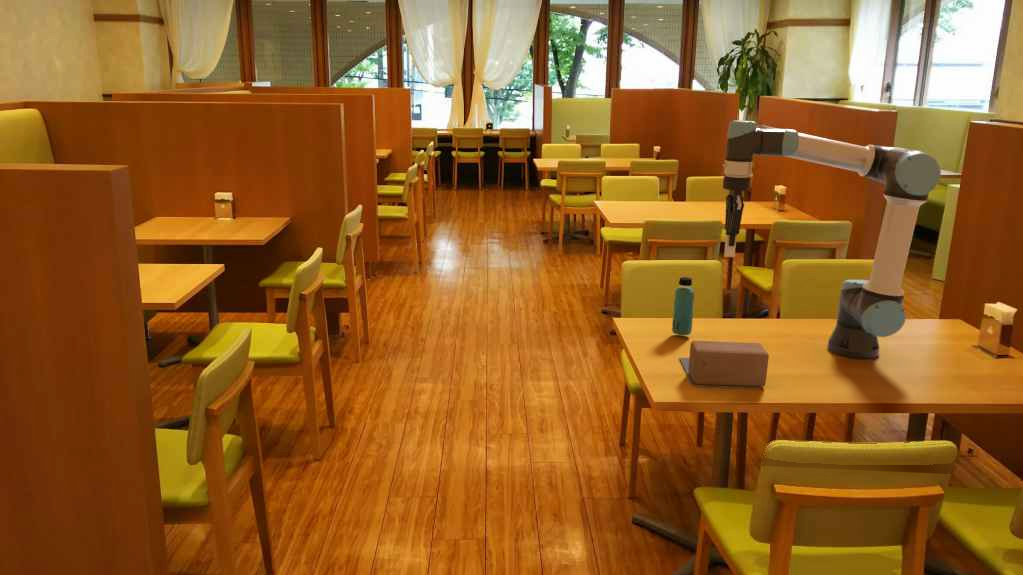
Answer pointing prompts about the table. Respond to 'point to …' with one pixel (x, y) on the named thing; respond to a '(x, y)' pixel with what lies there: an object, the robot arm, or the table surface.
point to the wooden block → (728, 363)
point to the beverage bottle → (683, 308)
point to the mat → (686, 365)
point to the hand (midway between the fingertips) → (729, 256)
